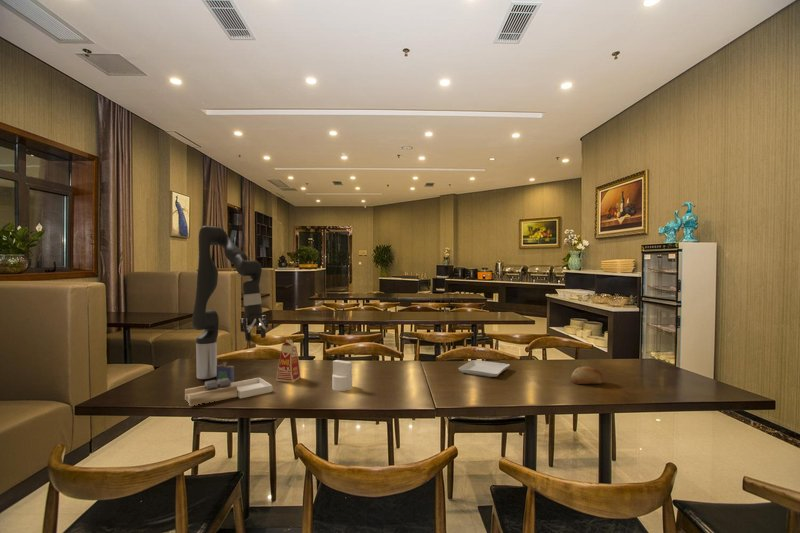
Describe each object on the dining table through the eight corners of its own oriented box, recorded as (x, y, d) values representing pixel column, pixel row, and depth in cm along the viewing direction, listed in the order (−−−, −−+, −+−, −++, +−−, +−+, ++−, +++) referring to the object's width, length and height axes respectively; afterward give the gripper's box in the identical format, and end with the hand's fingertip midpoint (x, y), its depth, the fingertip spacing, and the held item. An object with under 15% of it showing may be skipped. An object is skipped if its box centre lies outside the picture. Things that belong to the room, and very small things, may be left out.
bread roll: (608, 386, 184) (609, 369, 184) (576, 386, 184) (576, 369, 184) (598, 380, 194) (598, 364, 194) (567, 380, 194) (567, 364, 194)
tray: (228, 389, 182) (228, 383, 182) (259, 383, 191) (259, 377, 191) (240, 398, 170) (240, 391, 169) (272, 391, 178) (272, 385, 178)
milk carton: (293, 382, 192) (292, 340, 192) (275, 381, 194) (275, 339, 194) (301, 376, 201) (301, 337, 201) (284, 375, 203) (284, 336, 203)
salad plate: (457, 374, 206) (457, 367, 206) (472, 365, 225) (472, 359, 224) (497, 380, 195) (497, 373, 195) (510, 370, 213) (510, 364, 213)
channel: (184, 399, 168) (184, 389, 168) (229, 391, 179) (229, 381, 179) (190, 406, 160) (190, 395, 160) (237, 396, 172) (236, 386, 172)
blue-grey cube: (217, 388, 173) (217, 379, 173) (227, 386, 176) (227, 377, 176) (220, 390, 170) (220, 381, 170) (229, 389, 173) (229, 379, 173)
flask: (235, 384, 189) (235, 362, 189) (231, 386, 186) (230, 363, 186) (218, 383, 191) (218, 360, 191) (214, 385, 188) (214, 362, 188)
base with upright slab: (356, 386, 185) (356, 360, 185) (344, 392, 178) (344, 364, 177) (340, 383, 190) (340, 358, 190) (328, 389, 182) (328, 362, 182)
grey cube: (204, 391, 170) (204, 381, 170) (214, 389, 173) (214, 379, 173) (207, 393, 167) (207, 383, 167) (217, 391, 170) (217, 381, 169)
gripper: (258, 303, 192) (261, 337, 191) (234, 306, 179) (237, 342, 179) (270, 301, 189) (273, 336, 188) (246, 304, 176) (249, 342, 175)
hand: (256, 339), depth 183 cm, fingers open, 8 cm apart
